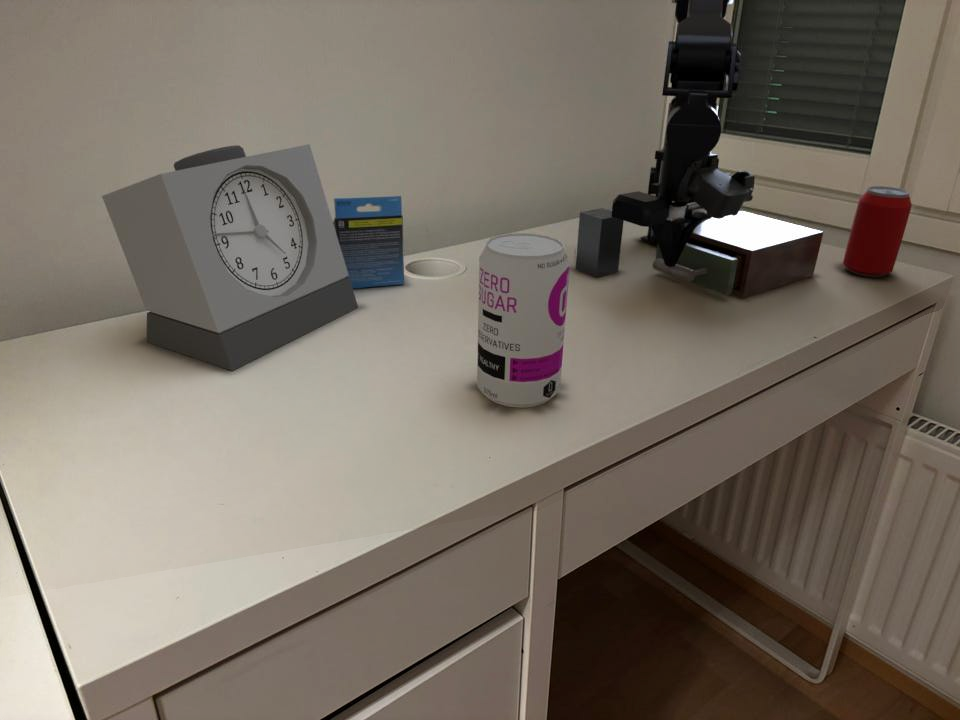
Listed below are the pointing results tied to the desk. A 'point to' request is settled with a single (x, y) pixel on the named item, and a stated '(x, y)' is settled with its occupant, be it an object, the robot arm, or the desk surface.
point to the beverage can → (877, 231)
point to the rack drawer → (706, 266)
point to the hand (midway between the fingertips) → (669, 266)
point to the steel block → (598, 243)
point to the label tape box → (371, 240)
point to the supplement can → (521, 318)
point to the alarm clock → (233, 253)
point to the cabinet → (764, 249)
